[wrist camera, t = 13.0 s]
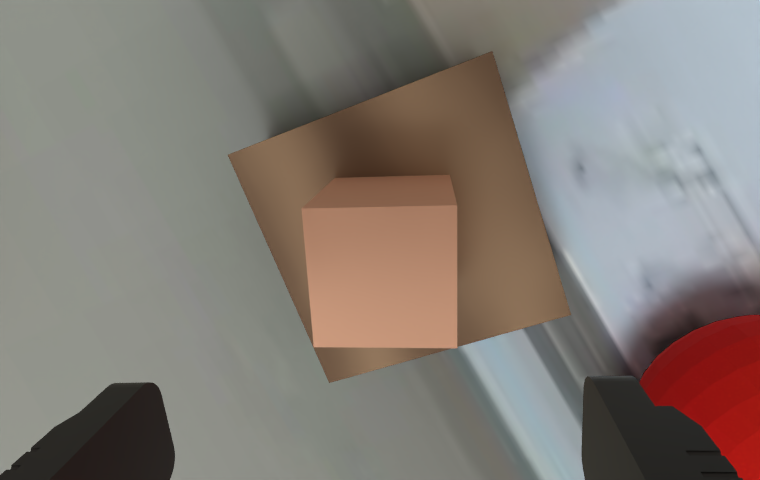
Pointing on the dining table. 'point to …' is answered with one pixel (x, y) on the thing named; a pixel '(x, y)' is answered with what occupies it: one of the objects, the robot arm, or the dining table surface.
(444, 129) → the walnut block
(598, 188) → the dining table surface
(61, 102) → the dining table surface
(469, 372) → the dining table surface
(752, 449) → the tomato
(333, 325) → the terracotta block
